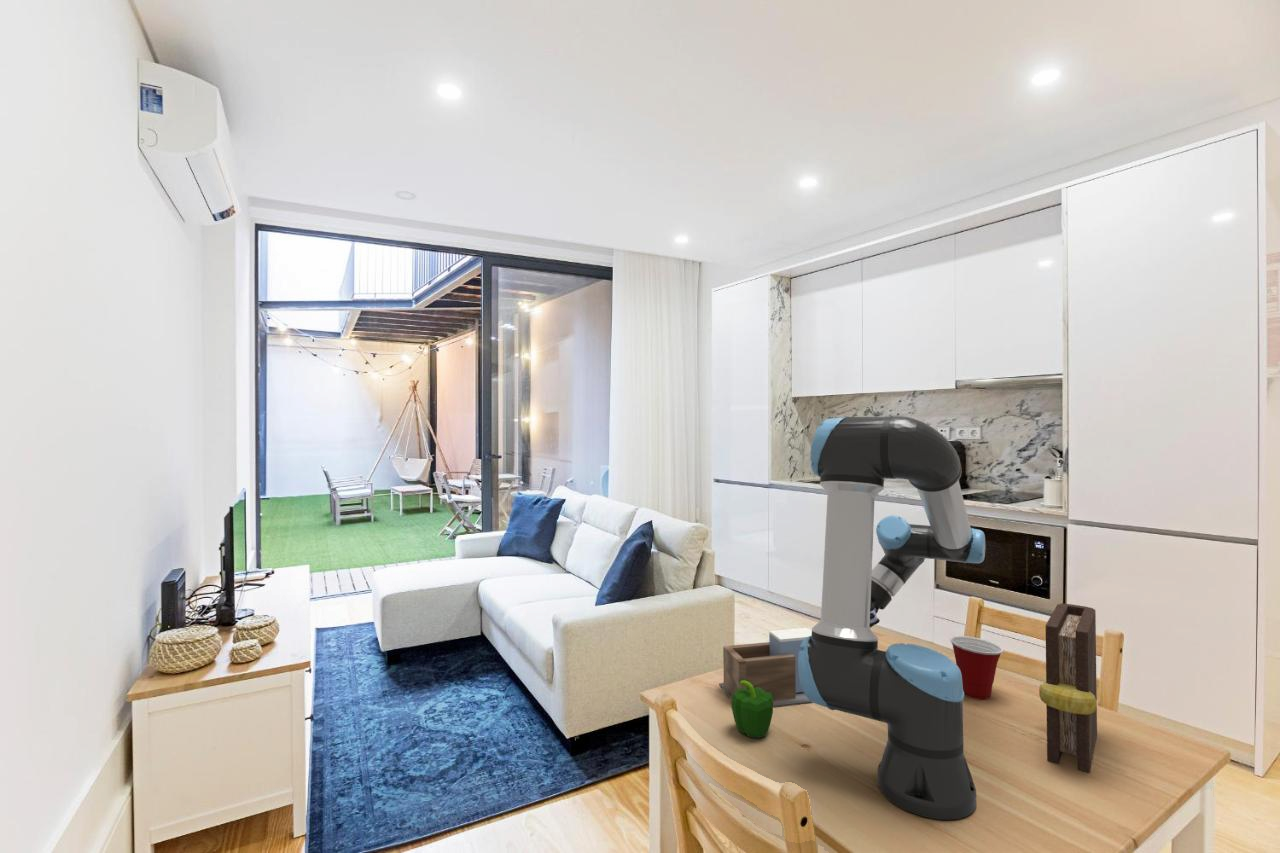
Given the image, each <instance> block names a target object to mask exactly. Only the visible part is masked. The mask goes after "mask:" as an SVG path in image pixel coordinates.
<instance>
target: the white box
mask: <svg viewBox="0 0 1280 853" xmlns="http://www.w3.org/2000/svg"><path fill="white" fill-rule="evenodd" d="M768 632H769V638H768V639H769V641H768V642H769V648H770V656H775V655H786V654H793V655H794V656H795V674H796V693H798V692H804V691H803V690H802V687H801V683H800V678H799V670H798V657H799V652H800V651H801V650H800V646H801V643H802V641H803V640H804V638H806V637H809V636H812V629H810V628H809V627H799V628H788V629H778V630H777V629H776V630H769V631H768Z"/></svg>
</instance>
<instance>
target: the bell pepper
mask: <svg viewBox="0 0 1280 853" xmlns="http://www.w3.org/2000/svg"><path fill="white" fill-rule="evenodd" d="M740 684H741V685H742V686H743V685H745V686H747V687H748V688H749V690H747V689H743V688H739V689H738V690H737V691H736V692H735V693H734V694H733V697H732V700H731V711H732V717H733V720H734V723H735V726H736V728H737V730H738V731H739V732H740V733H741V734H742V733H744V734H745V735H746V736H747V737H749V738H756V739H757V738H759V739H760V738H763V737H764V736H766V735H767V733H768V731H769V729H770V726H771V722H772V719H773V718H772V717H773V714H774V707H773V696H772V694H771V693H770V692H765V691H764V690H762V689H761V688H759V687H757V688H754V687H753V685H752V684H751V683H750V682H748V681H745V680H743V681H740Z"/></svg>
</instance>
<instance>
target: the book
mask: <svg viewBox="0 0 1280 853" xmlns="http://www.w3.org/2000/svg"><path fill="white" fill-rule="evenodd" d="M1096 624H1097V620H1096V608H1093V607H1090V606H1089V607H1088V606H1086V605H1085V606H1084V605H1078V604H1077V605H1076V604H1072V603H1057V604H1056V606H1055V607H1054V610H1053V611H1052V613H1051V615H1050V617H1049V618H1048V620H1047V622H1046V624H1045V625H1044V626H1045V682H1042V683H1041V684H1040V685H1039V687H1038V688H1039V689H1038V690H1039V691H1038V692H1039V697H1040V700H1041V702H1042V703H1044V704H1045V705H1046V760H1047V762H1049V763H1052V764H1054V765H1059V764H1060V762H1061V759H1062V755H1063V753H1064V754H1065V753H1066V754H1069V755H1072V756H1076V760H1077V761H1076V764H1077V765H1076V769H1077V771H1079V772H1081V773H1082V772H1083V773H1085V774H1090V772H1091V769H1092V763H1093V759H1094V754H1095V753H1094V752H1095V749H1096V748H1095V747H1096V743H1097V738H1098V708H1097V707H1098V706H1097V705H1098V703H1097V702H1098V701H1097V699H1098V697H1097V696H1098V695H1097V693H1098V692H1097V635H1096V634H1097V628H1096V627H1097V625H1096Z"/></svg>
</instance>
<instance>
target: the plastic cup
mask: <svg viewBox="0 0 1280 853" xmlns="http://www.w3.org/2000/svg"><path fill="white" fill-rule="evenodd" d="M949 639H950V640H949V641H950V643H951V645H952V649H953V653H954V658H955V664H956V665H957V666H958V667H959V669H960V671H961V675H962V685H963V692H964V696H966V697H968V698H971V699H975V700H987V699H990V697H991V695H992V691H993V684H994V682H995V676H996V672H997V667H998V663H999V659H1000V656H1001V654H1003V653H1004V649H1003V647H1002V646H1000V645H999V644H997V643H996V642H992V641H990V640H986V639H982V638H980V637H979V638H978V637H973V636H969V635H967V636H966V635H955V636H952V637H950V638H949Z"/></svg>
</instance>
